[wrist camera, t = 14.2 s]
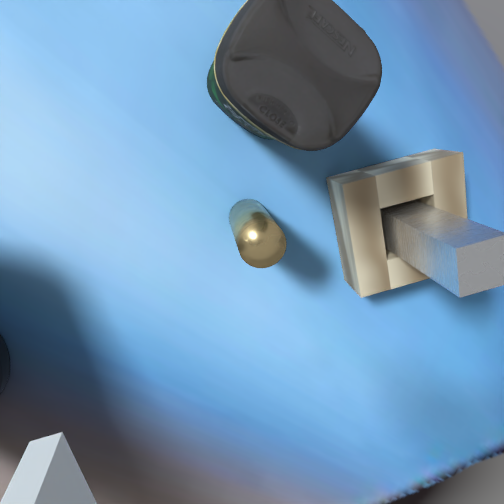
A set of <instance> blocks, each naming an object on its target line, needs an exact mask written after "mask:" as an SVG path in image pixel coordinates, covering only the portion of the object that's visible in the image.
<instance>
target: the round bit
mask: <svg viewBox="0 0 504 504" xmlns="http://www.w3.org/2000/svg"><path fill="white" fill-rule="evenodd" d="M229 222H230V225H231V229H232V232H233V235H234V238H235V241H236V244H237V247H238V250H239V253H240V255H241V257H242V259H243V260H244V261H245V262H246V263H247V264H249V265H250V266H253V267H256V268H266V267H270V266H272V265H274V264H276V263H277V262H278V261H279V260H280V259H281V258H282V257H283V255H284V253H285V250H286V237H285V235H284V233H283V231H282V230H281V229H280V227H279V226H278V225H277V223H276V222H275V221H274V220H273V218H272V217H271V216H270V214H269V213H268V212H267V211H266V209H265V208H264V207H263V206H262V204H261V203H259V202H258V201H256V200H253V199H244V200H241V201H239V202H237V203H236V204H235V205H234V206H233V207H232V209H231V211H230V214H229Z"/></svg>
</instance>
